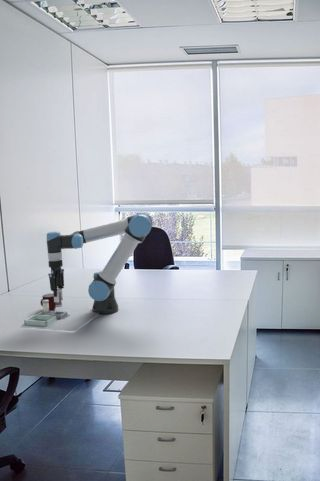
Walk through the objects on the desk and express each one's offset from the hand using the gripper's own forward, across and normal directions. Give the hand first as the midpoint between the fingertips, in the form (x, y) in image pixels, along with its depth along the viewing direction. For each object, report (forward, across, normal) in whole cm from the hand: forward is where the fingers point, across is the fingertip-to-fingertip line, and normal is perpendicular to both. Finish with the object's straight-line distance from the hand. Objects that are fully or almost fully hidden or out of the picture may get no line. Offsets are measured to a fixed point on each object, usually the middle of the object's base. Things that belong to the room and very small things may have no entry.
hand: (58, 300), depth 266 cm
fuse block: (+10, 0, -4) cm, 11 cm away
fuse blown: (+3, 0, 0) cm, 3 cm away
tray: (+10, +11, -5) cm, 16 cm away
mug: (+10, -11, -13) cm, 20 cm away
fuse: (+9, 0, -8) cm, 12 cm away
